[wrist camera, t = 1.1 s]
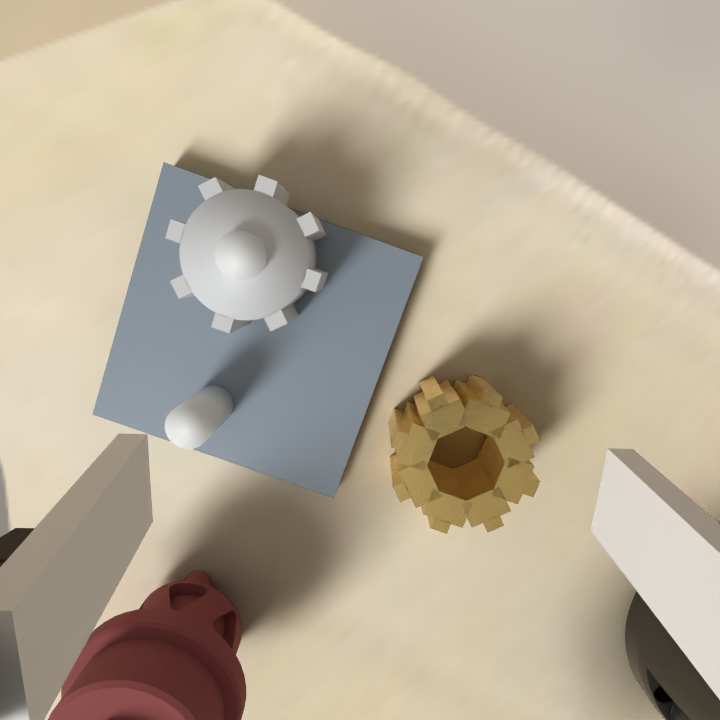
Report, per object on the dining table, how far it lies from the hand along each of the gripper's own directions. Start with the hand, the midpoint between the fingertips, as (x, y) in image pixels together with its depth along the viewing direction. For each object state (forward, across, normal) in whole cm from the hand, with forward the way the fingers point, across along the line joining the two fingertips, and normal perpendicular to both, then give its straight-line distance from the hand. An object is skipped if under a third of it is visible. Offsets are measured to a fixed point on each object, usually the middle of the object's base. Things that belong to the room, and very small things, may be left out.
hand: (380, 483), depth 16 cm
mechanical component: (+18, +10, +21) cm, 29 cm away
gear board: (+20, +6, +1) cm, 21 cm away
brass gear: (+18, -7, +7) cm, 21 cm away
